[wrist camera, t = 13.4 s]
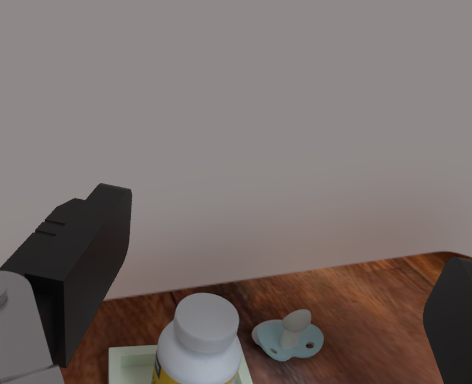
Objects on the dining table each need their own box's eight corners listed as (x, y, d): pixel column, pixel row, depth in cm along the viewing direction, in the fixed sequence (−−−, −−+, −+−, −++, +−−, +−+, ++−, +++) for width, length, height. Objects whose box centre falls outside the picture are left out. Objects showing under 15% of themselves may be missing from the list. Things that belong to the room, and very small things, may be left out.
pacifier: (241, 328, 48) (261, 372, 43) (252, 283, 46) (275, 324, 41) (299, 321, 51) (324, 361, 46) (312, 278, 48) (341, 316, 43)
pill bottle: (144, 384, 39) (158, 283, 34) (215, 379, 41) (239, 283, 35) (148, 458, 33) (166, 352, 28) (230, 449, 35) (261, 347, 30)
